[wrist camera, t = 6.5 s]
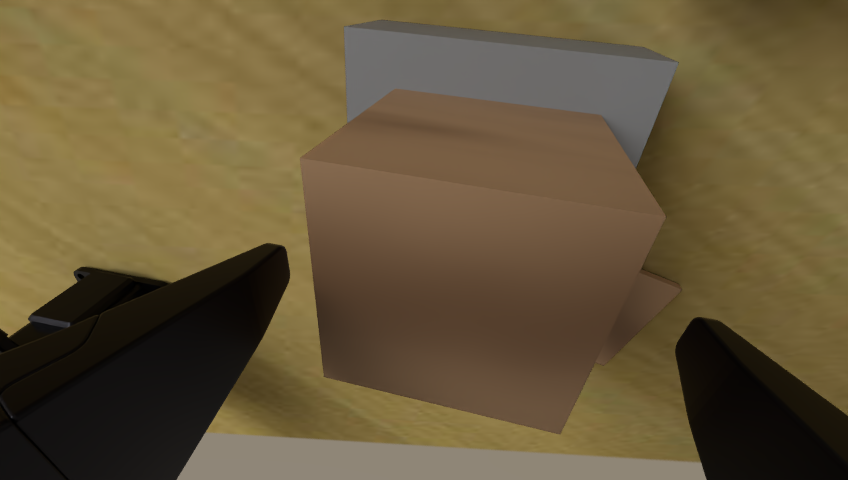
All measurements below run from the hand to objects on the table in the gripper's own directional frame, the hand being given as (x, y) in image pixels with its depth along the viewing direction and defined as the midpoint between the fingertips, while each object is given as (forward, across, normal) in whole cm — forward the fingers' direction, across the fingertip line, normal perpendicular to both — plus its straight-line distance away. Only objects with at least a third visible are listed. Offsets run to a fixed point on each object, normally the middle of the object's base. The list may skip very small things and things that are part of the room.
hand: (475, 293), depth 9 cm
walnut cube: (+5, 0, 0) cm, 5 cm away
